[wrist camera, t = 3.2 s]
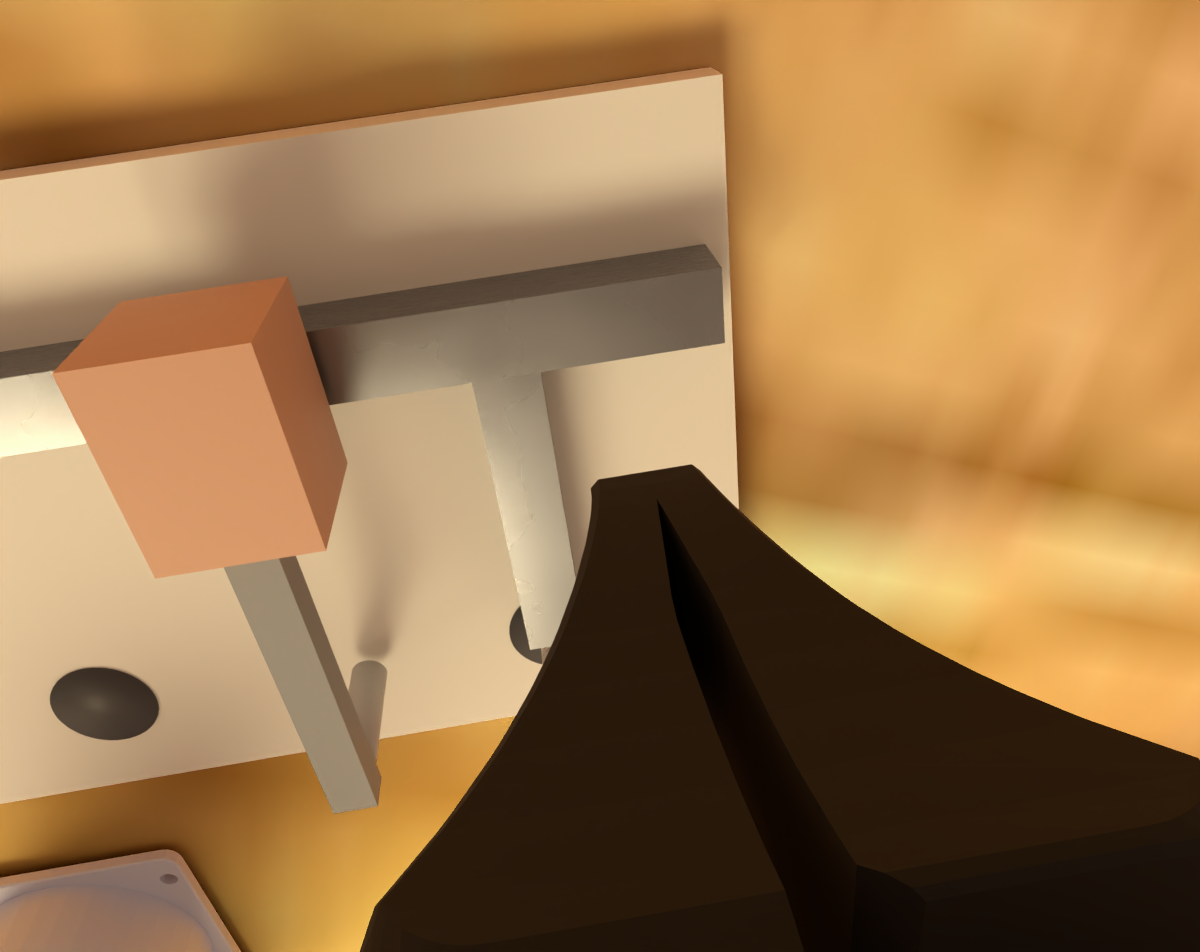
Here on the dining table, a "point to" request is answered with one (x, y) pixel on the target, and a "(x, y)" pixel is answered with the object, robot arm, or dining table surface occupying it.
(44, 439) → the bar
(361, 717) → the leg
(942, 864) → the robot arm
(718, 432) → the hole plate
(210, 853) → the dining table surface
